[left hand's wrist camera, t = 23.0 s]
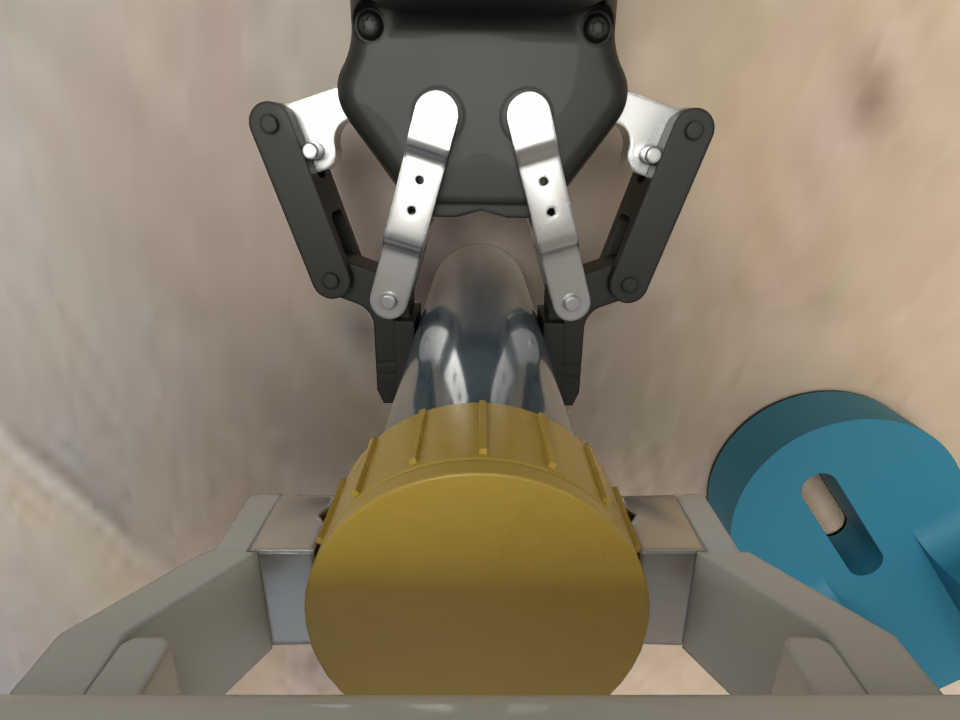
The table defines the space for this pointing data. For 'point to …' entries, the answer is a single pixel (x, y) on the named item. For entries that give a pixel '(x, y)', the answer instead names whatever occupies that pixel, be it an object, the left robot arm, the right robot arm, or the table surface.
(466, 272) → the grey long cylinder
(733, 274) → the table surface
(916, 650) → the camera mount
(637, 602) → the lid
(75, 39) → the table surface
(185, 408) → the table surface
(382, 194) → the table surface
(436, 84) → the right robot arm
